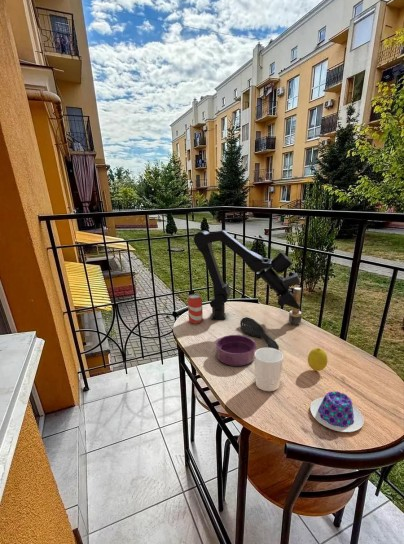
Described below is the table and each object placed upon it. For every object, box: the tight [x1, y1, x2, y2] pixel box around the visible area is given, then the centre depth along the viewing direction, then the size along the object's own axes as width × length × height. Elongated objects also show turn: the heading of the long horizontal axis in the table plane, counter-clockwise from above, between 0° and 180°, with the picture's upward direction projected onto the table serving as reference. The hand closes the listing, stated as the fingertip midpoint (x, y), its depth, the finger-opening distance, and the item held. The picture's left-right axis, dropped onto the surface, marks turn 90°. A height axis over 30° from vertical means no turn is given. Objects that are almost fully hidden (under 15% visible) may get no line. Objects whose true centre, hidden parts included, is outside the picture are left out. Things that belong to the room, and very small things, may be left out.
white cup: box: [254, 347, 284, 392], centre depth 80 cm, size 8×8×10 cm
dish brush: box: [288, 287, 302, 325], centre depth 116 cm, size 5×5×15 cm
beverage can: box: [187, 293, 204, 325], centre depth 123 cm, size 6×6×12 cm
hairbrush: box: [239, 316, 280, 351], centre depth 109 cm, size 8×4×25 cm
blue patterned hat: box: [309, 391, 365, 433], centre depth 68 cm, size 12×12×5 cm
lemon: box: [307, 347, 328, 372], centre depth 86 cm, size 6×6×8 cm
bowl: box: [215, 334, 257, 367], centre depth 95 cm, size 13×13×5 cm
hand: (299, 307), depth 116 cm, fingers closed on dish brush, 3 cm apart
